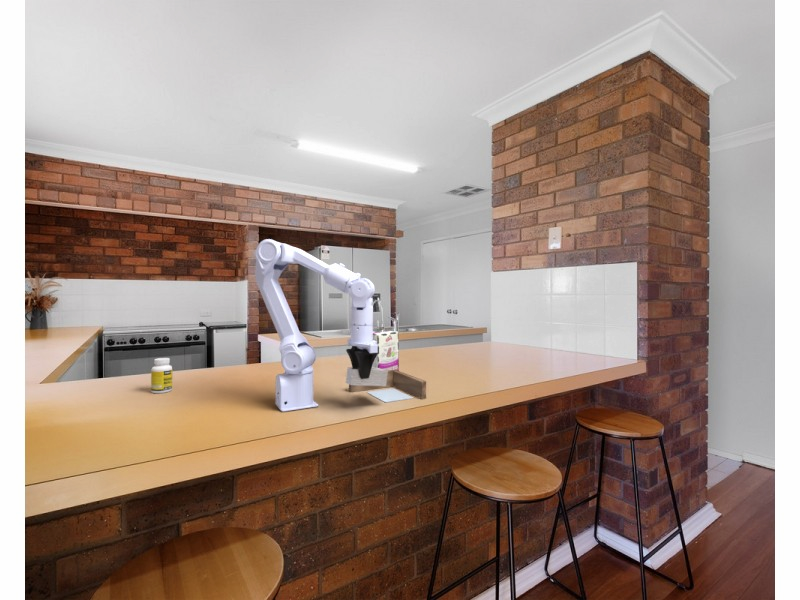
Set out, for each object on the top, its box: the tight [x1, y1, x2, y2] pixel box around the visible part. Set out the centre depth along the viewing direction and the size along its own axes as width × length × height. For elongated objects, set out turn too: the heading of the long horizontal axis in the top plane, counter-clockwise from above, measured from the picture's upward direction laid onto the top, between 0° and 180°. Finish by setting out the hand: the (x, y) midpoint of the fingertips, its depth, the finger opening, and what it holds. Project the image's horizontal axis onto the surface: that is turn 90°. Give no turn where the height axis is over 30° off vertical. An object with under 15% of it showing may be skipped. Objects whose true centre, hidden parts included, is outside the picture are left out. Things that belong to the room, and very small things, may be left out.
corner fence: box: [348, 370, 427, 400], centre depth 113 cm, size 16×18×5 cm
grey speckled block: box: [345, 366, 388, 386], centre depth 103 cm, size 10×8×4 cm
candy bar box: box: [372, 330, 400, 371], centre depth 132 cm, size 11×5×16 cm, turn 143°
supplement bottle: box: [150, 357, 173, 394], centre depth 116 cm, size 5×5×10 cm
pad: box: [366, 387, 414, 403], centre depth 112 cm, size 9×12×1 cm
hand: (361, 376), depth 100 cm, fingers closed on grey speckled block, 3 cm apart
